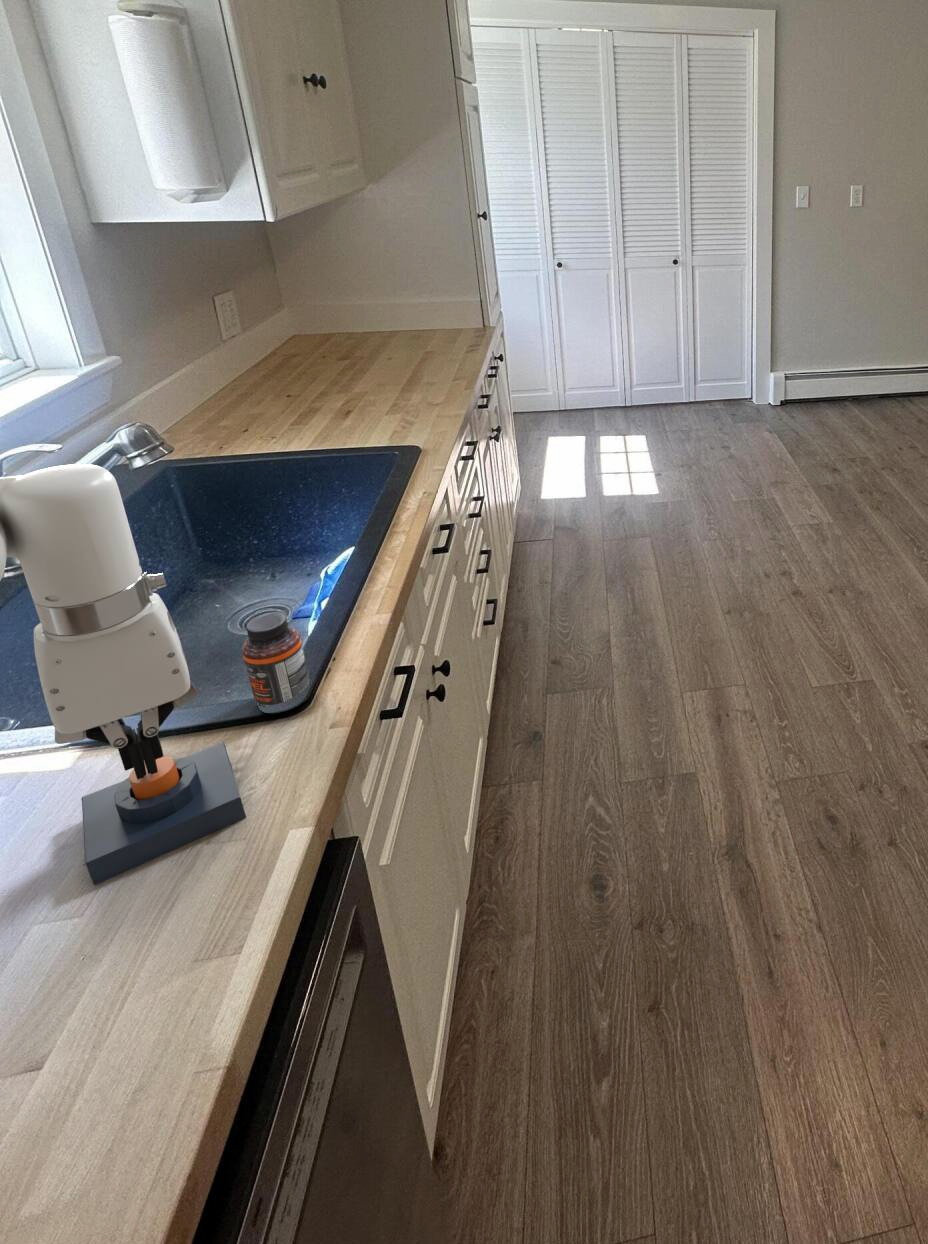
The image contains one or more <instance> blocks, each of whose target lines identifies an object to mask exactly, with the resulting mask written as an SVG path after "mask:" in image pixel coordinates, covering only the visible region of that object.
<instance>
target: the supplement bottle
mask: <svg viewBox="0 0 928 1244" xmlns="http://www.w3.org/2000/svg"><path fill="white" fill-rule="evenodd" d="M246 632H247V638H246V639H245V640H244V642H243V643H242V648H241V653H242V657H243V662H244V664H245V669H246V672H247V677H248V681H249V684H250V685H249V686H250V688H251V692H252V696H253V699H254V698H258V699H256V700H255V701H256V702H258V703H259V706H263V707H265V706H274V705H276V704H279V703H282V702H285V701H287V700H289V699H291V698H292V697H294V696H296V695H297V694H299V693H301V692H302V691H303V690H304V689H305V688H306V687H307V685H308V684H309V681H310V682H311V678H309V677H310V674H309V673H310V672H309V669H308V664H307V660H306V656H305V655H306V654H305V651H304V647H303V643H302V638H301V635H300V632H299V630H298V629H296V628H295V627H294V626H291V625H289V623H288V620H287V616H286V615H285V614H284V613H283V612H278V611H273V612H266V613H265V612H264V613H262V614H260V615H257V616H256V617H253V618H252V619H251V620H249V621H248V622H247V624H246ZM255 701H254V702H255Z"/></svg>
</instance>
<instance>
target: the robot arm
mask: <svg viewBox="0 0 928 1244" xmlns="http://www.w3.org/2000/svg"><path fill="white" fill-rule="evenodd" d="M7 558H15V559H17V560H18V561H19V563H20V566H21V569H22V571H23V575H24V578H25V582H26V584H27V587H28V590H29V592H30V596H31V598H32V601H33V604H34V606H35V610H36V613H37V616H38V619H39V623H38V624H37V625H35V627H34V628H33V648H34V657H35V662H36V667H37V671H38V676H39V677H38V678H39V680H40V685H41V690H42V693H43V697H44V701H45V705H46V708H47V711H48V715H49V718H50V721H51V724H52V725H53V728H54V743H56V744H59V745H63V744H69V743H75V742H79V741H84V740H86V739H88V740H91V741H96V742H100V743H105V744H109V745H110V746H111V747H112V748H113V749H117V750H118V753H119V756H120V759H121V762H122V767H123V768H124V769H123V770H124V771H129V770H131V769H132V770H134V771H135V774H136V777H137V780H138V779H141V778H144V776H145V775H146V769H145V765H146V768H147V771H148V774H150V773H151V775H152V774H154V773H157V772H158V770H157V764H156V759H159V758H161V757H164V751H163V747H162V743H161V739H160V737H159V732H160V727H161V726H162V725H163V724H164V722H165V721H166V720H167V719H168V717H169V716H170V715H171V714H172V712H173V711H174V709H177V708H180V707H181V706H183V705H185V704H187V703H189V702H191V701H193V700H195V699H196V698H198V696H199V690H198V687H197V685H196V683H195V682H194V680H193V679H192V678H191V676H190V672H189V667H188V662H187V658H186V655H185V652H184V649H183V646H182V643H181V640H180V637H179V634H178V632H177V631H178V630H177V629H176V626H175V623H174V620H173V618H172V616H171V614H170V612H169V610H168V608H167V606H166V605H165V603H164V601H163V599H162V597H161V596H160V595H159V594H158V593H156V592H157V591H158V590H159V589H162V588H167V583H166V579H165V575H164V573H163V572H162V573H157V574H153V573H152V574H151V573H150V574H148V572H147V571H146V572H143V569H142V566H141V562H140V559H139V555H138V551H137V548H136V545H135V541H134V538H133V534H132V529H131V526H130V524H129V520H128V516H127V514H126V508H125V506H124V502H123V498H122V495H121V492H120V488H119V485H118V483H117V480H116V478H115V476H114V475H113V474H112V473H111V472H110V471H109V470H108V469H106V468H105V467H102V466H99V465H95V464H87V463H85V464H83V463H80V464H77V463H76V464H74V463H73V464H64V465H63V464H62V465H57V466H51V467H47V468H43V469H39V470H35V471H32V472H28V473H27V474H24V475H14V476H4V477H3V476H1V477H0V582H1V581H2V579H3V577H4V573H5V569H6V566H7ZM138 713H140V715H139V716H140V720H139V722H137V727H136V729H135V728H132V726H130V725H126V722H125V721H124V718H127V717H129V716H132V715H136V714H138ZM144 762H145V763H144Z"/></svg>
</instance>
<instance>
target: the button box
mask: <svg viewBox="0 0 928 1244" xmlns="http://www.w3.org/2000/svg"><path fill="white" fill-rule="evenodd" d="M172 759H173V760H174V762H175V765H176V768H177V771H178V774H179V782H178V783H177V785H175V786H174V787H173V788H171V789H170V790H169V791H167V792H166V793H164V794H161V795H159V796H156V797H154V798H151V799H142V800H139V799H137V798H136V797H135V795H134V792H133V790H132V787H131V784H130V781H129V777H127V778H126V779H124V780H121V781H119V782H117V783H113V784H111V785H109V786H106V787H104V788H101V789H98V790H97V791H94V792H91V793H89V794H86V795H83V796H82V797H81V810H82V812H81V813H82V826H83V827H82V829H83V846H84V862H85V863H84V864H85V867H86V869H87V872H88V874H89V877H90V880H91V882H92V884H93V886H96V885H98V884H101V883H103V882H105V881H107V880H110V879H112V878H114V877H117V876H119V875H121V874H123V873H125V872H128V871H130V870H133V869H134V868H137V867H139V866H142V865H143V864H145V863H148V862H150V861H153V860H154V859H157V858H160V857H162V856H165V855H166V854H169V853H171V852H172V851H175V850H177V849H180V848H181V847H182V848H183V846H186V845H188V844H190V843H192V842H195V841H197V840H199V839H202V838H204V837H207V836H209V835H211V834H213V833H215V832H217V831H220V830H222V829H224V828H226V827H229V826H231V825H234V824H235V823H238V822H240V821H242V820H244V819H246V818H247V815H246V811H245V807H244V805H243V801H242V797H241V794H240V790H239V788H238V784H237V781H236V778H235V774H234V771H233V770H234V769H233V767H232V764H231V760H230V757H229V754H228V751H227V748H226V744H225V742H224V741H222V742H220V743H217V744H215V745H212V746H210V747H206V748H204V749H201V750H199V751H196V752H194V753H191V754H189V755H186V756H184V757H176V758H172Z"/></svg>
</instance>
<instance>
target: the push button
mask: <svg viewBox="0 0 928 1244" xmlns="http://www.w3.org/2000/svg"><path fill="white" fill-rule="evenodd" d="M173 759H174V758H172V757H170V756H164V757H161V758H159V759H156V764H157V770H158V772H157V773H154V774H152V775H151V773H150V774H148V771H147V768H146V765H145V769H146V775H145V776H144V778H141V779H138V780H137V777H136V774H135V771H134V769H132V771H131V772H130V774H129V775H128V778H129V781H130V784H131V787H132V790H133V792H134V795H135V797H136V798H137V799H139V800H142V799H151V798H154V797H156V796H159V795H161V794H164V793H166V792H167V791H169V790H170V789H171V788H173V787H174V786H175V785H177V783H178V782H179V774H178V771H177V768H176V765H175V762H174V760H173ZM144 763H145V762H144Z"/></svg>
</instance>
